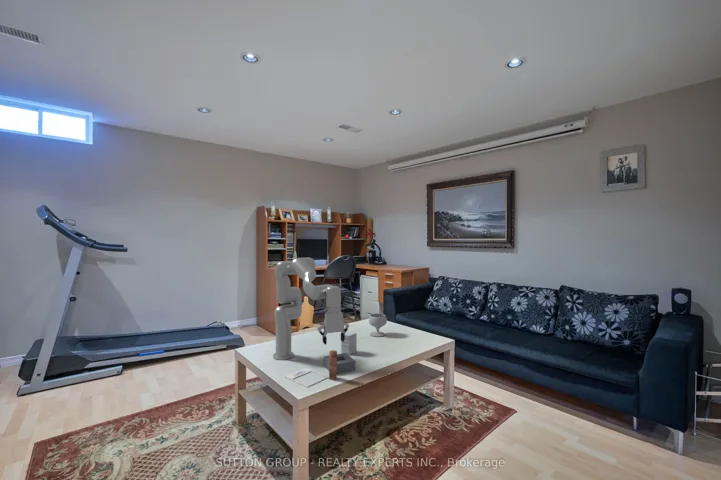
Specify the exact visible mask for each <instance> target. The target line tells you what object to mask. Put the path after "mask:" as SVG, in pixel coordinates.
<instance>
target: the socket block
mask: <svg viewBox="0 0 721 480" xmlns="http://www.w3.org/2000/svg"><path fill="white" fill-rule="evenodd" d="M323 365H324V367H325V368H326V369H327V370H328V371H329V355H324V356H323ZM353 371H356V360H355V359H354V358H353V357H352V356H351V355H348V354H347V353H337V374H341V373H347V372H353Z"/></svg>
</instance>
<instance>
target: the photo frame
mask: <svg viewBox="0 0 721 480" xmlns="http://www.w3.org/2000/svg"><path fill="white" fill-rule="evenodd" d="M309 373H314V374H316V375H319V376H321V377H323V378H321V379H319V380H317V381H314V382H312V383H310V384H308V385H307V384H304V383H303V382H300V381H298V380H295V379H297V378H300V377H302V376H304V375H307V374H309ZM284 378H285V379H288V380H290V381H292V382H294V383H296V384H298V385H301V386H303V387H305V388H310V387H311V386H315V385H316V384H319V383H321V382H322V381H324V380H327V379H329V376H328V375H325V374H323V373H320V372H318V371H315V370H313V369H310V368H307V367H305V368H302V369H300V370H297V371H295V372H294V371H293V372H292V373H290V374H287V375H285V376H284Z"/></svg>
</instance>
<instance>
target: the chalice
mask: <svg viewBox="0 0 721 480" xmlns="http://www.w3.org/2000/svg"><path fill="white" fill-rule="evenodd" d="M368 323H369V325H370V326H372V327H374V328H375V330H376V331H372V332H370V333H369V335H370V336H372V337H379V338H380V337H385V336H386V335H387V334H386V333H385V332H383V331H380V328H382V327H384V326H386V324H387V323H388V319H387V316H386V314H384V313H372V314H370V315H369V317H368Z"/></svg>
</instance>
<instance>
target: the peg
mask: <svg viewBox="0 0 721 480" xmlns="http://www.w3.org/2000/svg"><path fill="white" fill-rule="evenodd" d="M328 353H329V354H328V356H329V370H328V375H329V376H328V379H329V380H330V381H335V380H337V379H338V373H337V354H338V351H337V350H330V351H329V352H328Z"/></svg>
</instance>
